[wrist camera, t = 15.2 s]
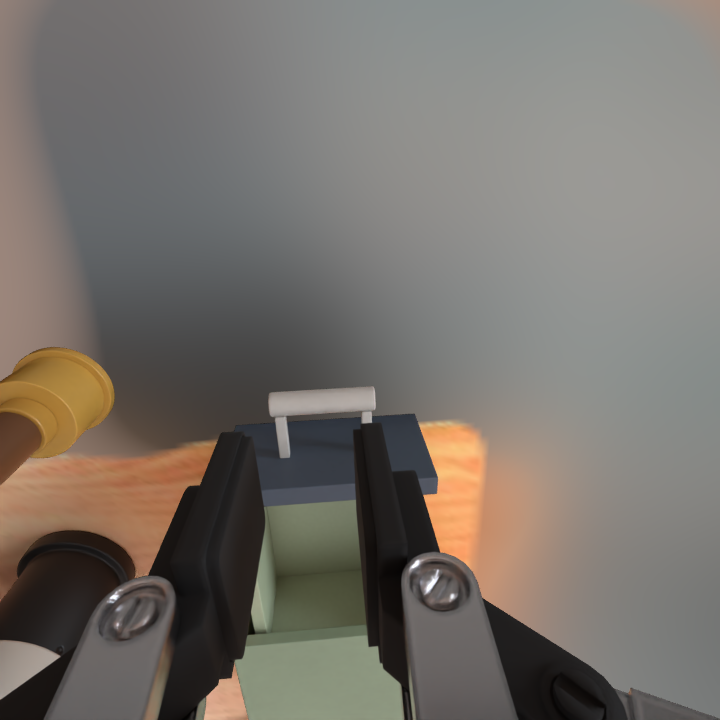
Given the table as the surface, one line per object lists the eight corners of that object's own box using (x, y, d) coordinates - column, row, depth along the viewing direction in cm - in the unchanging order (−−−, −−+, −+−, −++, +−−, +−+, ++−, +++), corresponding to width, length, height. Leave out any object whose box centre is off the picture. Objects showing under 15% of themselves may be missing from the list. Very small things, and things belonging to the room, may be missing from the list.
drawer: (225, 368, 27) (196, 426, 21) (416, 357, 28) (442, 410, 22) (261, 573, 35) (248, 660, 29) (410, 560, 36) (428, 642, 30)
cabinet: (251, 540, 35) (230, 648, 27) (416, 527, 35) (442, 628, 28) (273, 658, 41) (261, 773, 33) (412, 645, 42) (432, 754, 34)
